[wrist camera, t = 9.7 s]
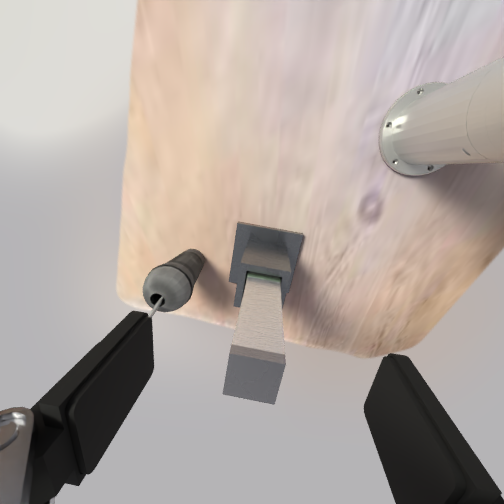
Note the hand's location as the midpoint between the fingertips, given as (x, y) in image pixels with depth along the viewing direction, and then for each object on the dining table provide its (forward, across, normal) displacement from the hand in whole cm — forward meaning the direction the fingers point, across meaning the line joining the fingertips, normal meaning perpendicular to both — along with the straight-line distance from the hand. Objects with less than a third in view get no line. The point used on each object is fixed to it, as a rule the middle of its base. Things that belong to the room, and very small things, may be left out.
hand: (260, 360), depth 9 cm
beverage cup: (+34, +14, +12) cm, 39 cm away
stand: (+35, 0, +9) cm, 36 cm away
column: (+27, 0, +9) cm, 29 cm away
